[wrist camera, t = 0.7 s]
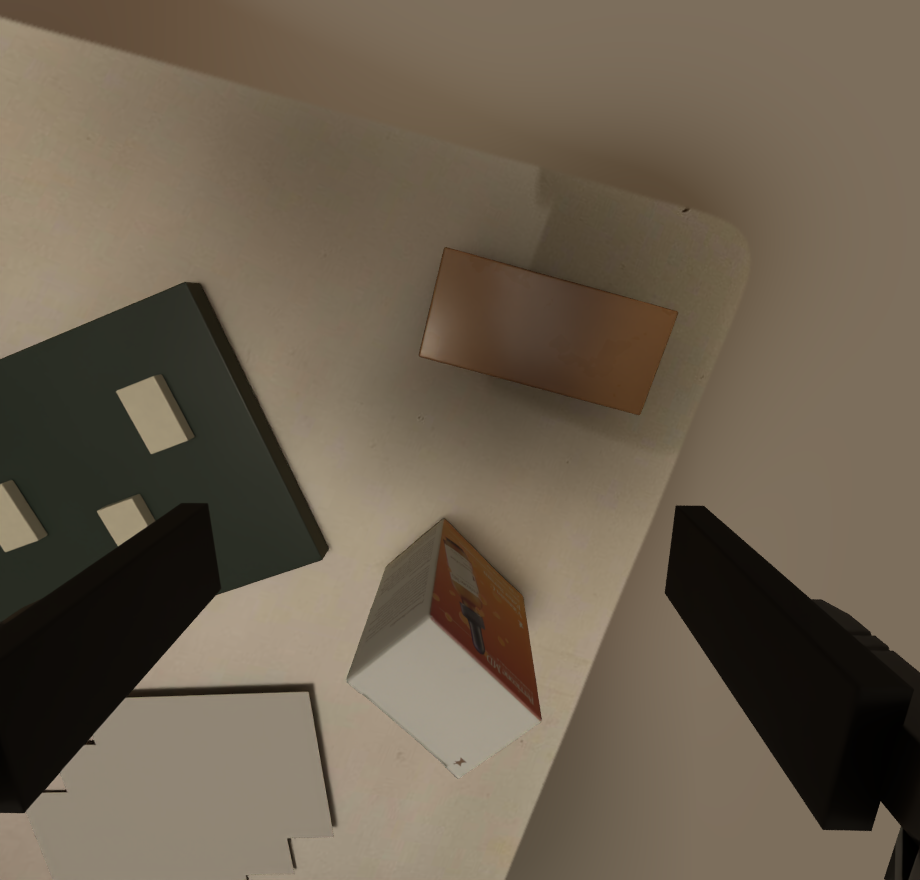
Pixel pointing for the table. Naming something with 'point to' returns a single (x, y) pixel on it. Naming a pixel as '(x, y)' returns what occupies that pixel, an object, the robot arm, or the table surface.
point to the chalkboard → (143, 447)
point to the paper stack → (188, 791)
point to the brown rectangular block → (545, 331)
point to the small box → (449, 652)
